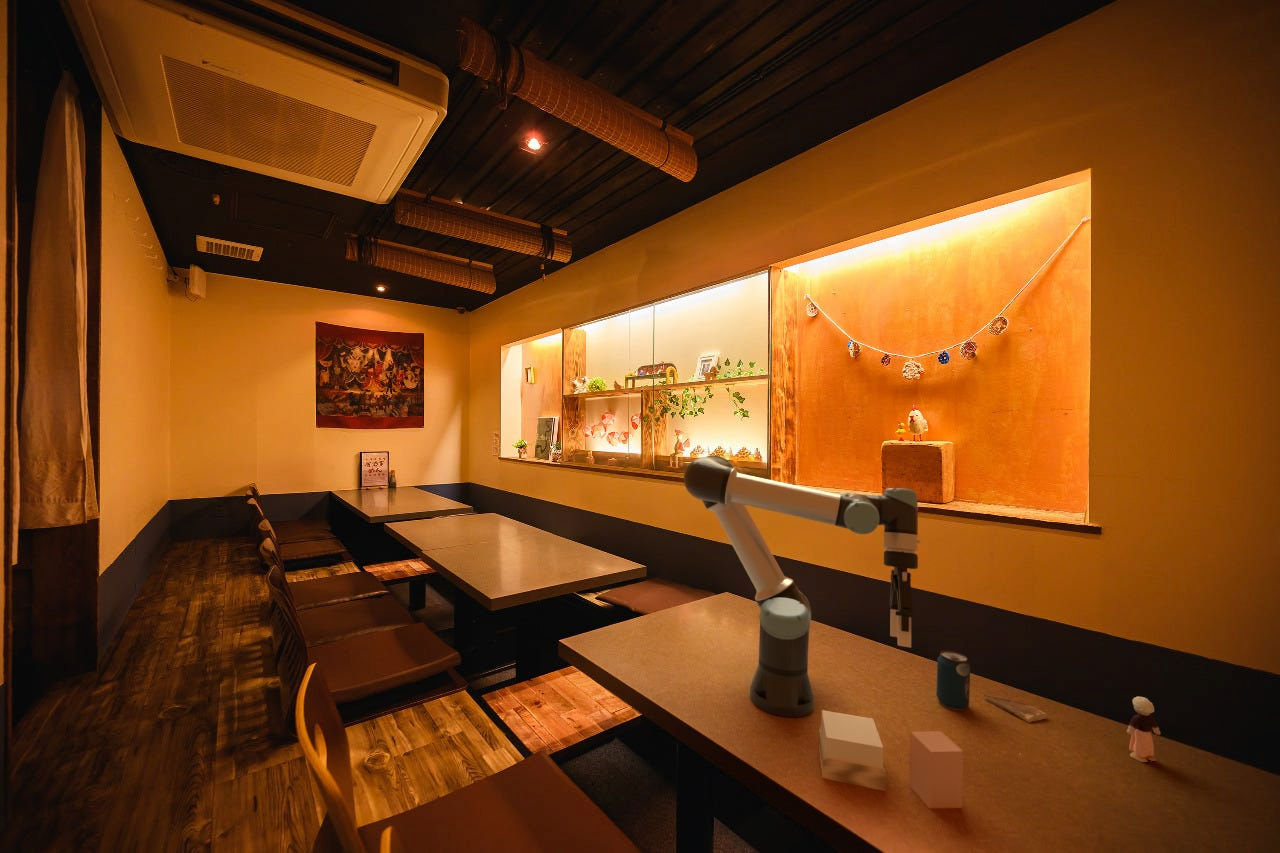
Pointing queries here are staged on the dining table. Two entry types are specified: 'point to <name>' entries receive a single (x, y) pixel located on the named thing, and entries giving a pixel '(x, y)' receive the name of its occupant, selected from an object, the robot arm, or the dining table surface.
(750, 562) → the robot arm
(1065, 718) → the dining table surface
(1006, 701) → the shard
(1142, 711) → the grandmother figurine
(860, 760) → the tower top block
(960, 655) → the soda can
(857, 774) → the tower base block
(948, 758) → the tall block
